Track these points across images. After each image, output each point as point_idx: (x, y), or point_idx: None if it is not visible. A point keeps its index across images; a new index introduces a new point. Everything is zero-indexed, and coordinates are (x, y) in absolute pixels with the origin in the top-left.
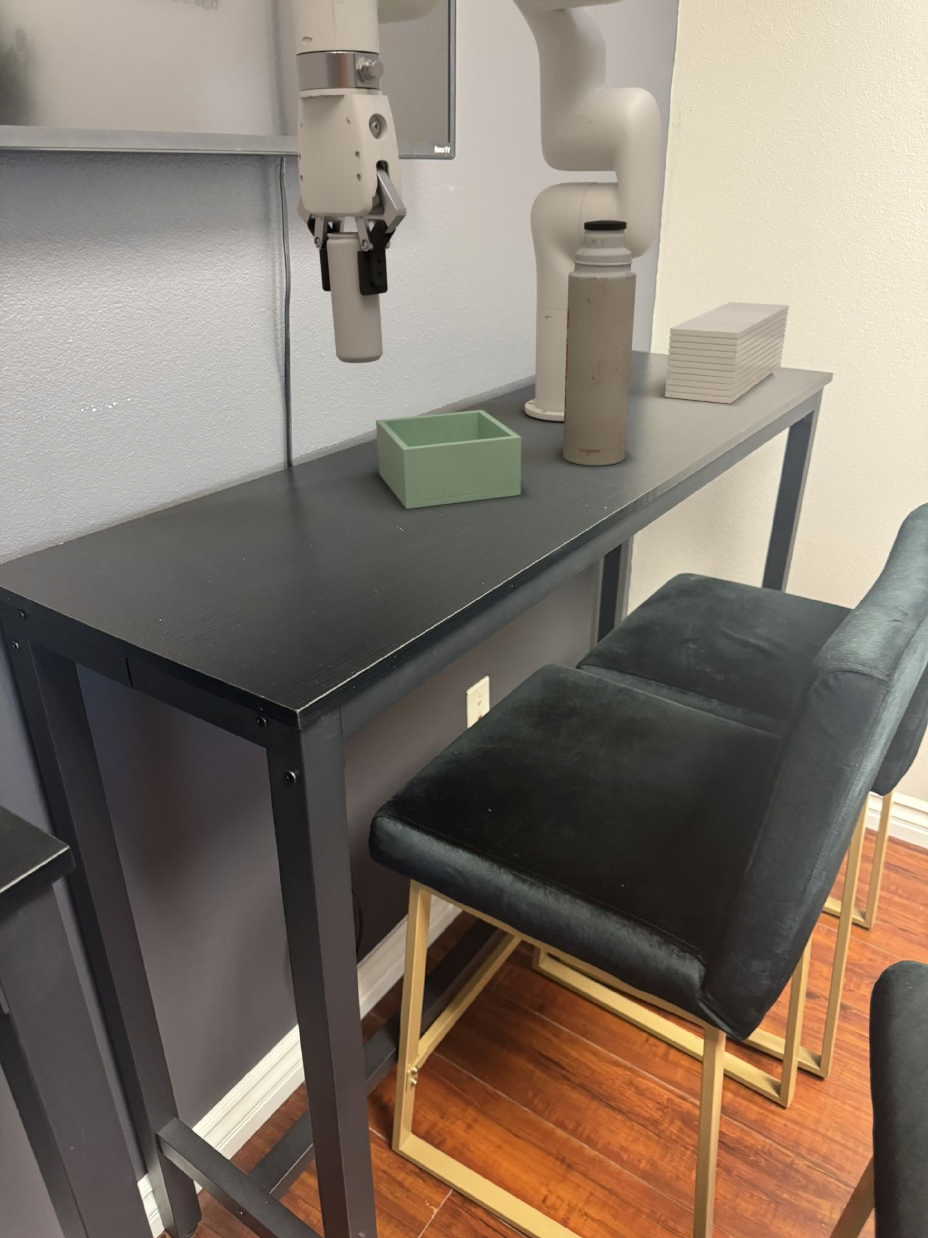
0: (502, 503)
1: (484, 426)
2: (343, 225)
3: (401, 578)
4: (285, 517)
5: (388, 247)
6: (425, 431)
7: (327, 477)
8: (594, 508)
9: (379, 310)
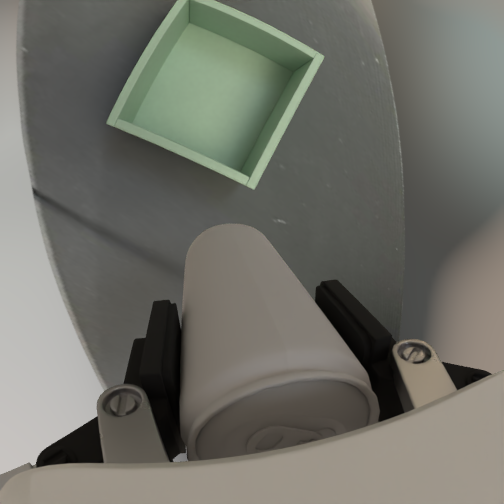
0: (303, 102)
1: (211, 13)
2: (165, 451)
3: (351, 284)
4: (172, 281)
5: (416, 342)
6: (150, 67)
7: (90, 180)
8: (372, 66)
9: (289, 268)
